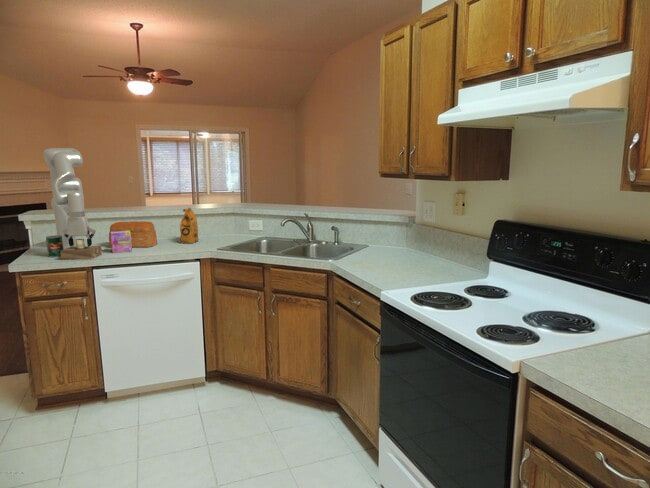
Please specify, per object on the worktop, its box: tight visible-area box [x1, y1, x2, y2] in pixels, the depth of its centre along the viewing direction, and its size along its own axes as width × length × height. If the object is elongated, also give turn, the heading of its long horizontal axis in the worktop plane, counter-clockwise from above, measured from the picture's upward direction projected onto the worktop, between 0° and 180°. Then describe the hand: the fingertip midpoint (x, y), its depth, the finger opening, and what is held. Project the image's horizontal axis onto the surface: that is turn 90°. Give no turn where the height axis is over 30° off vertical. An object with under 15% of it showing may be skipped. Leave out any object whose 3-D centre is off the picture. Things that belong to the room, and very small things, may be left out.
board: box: [60, 245, 103, 261], centre depth 249 cm, size 12×16×5 cm
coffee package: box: [179, 206, 199, 245], centre depth 289 cm, size 10×12×22 cm
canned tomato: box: [45, 234, 64, 258], centre depth 254 cm, size 8×8×11 cm
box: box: [109, 230, 133, 254], centre depth 263 cm, size 10×6×12 cm, turn 117°
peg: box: [75, 238, 86, 249], centre depth 249 cm, size 4×4×10 cm
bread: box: [108, 220, 158, 248], centre depth 281 cm, size 14×27×15 cm, turn 90°
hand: (80, 245), depth 249 cm, fingers open, 9 cm apart
